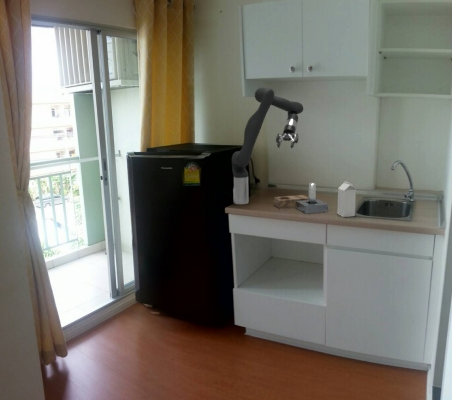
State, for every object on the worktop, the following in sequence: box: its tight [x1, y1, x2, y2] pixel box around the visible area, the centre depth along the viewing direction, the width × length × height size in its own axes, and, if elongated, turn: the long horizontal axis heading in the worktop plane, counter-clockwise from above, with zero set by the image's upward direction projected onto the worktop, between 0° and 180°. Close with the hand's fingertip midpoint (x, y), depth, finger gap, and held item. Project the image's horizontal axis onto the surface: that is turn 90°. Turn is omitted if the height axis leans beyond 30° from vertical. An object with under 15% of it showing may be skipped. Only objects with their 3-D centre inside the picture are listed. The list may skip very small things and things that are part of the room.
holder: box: [295, 198, 329, 215], centre depth 244 cm, size 14×14×4 cm
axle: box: [308, 182, 317, 204], centre depth 243 cm, size 4×4×16 cm
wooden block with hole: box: [273, 194, 309, 210], centre depth 256 cm, size 20×10×5 cm, turn 102°
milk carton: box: [336, 180, 357, 218], centre depth 229 cm, size 7×7×19 cm
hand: (284, 147), depth 264 cm, fingers open, 8 cm apart
